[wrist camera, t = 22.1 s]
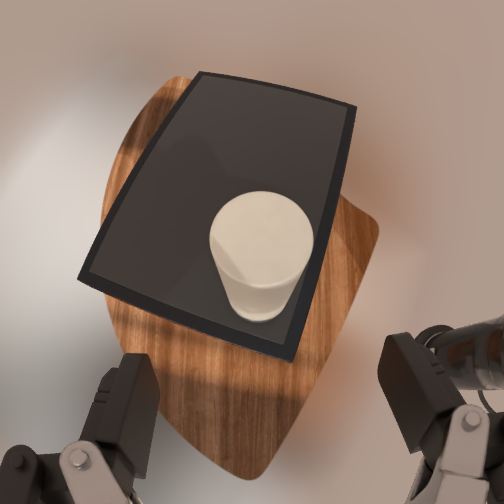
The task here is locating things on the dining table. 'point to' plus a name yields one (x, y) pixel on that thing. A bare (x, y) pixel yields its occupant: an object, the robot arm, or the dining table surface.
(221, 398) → the dining table surface
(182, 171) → the tablet
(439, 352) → the robot arm
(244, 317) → the cream cylinder
